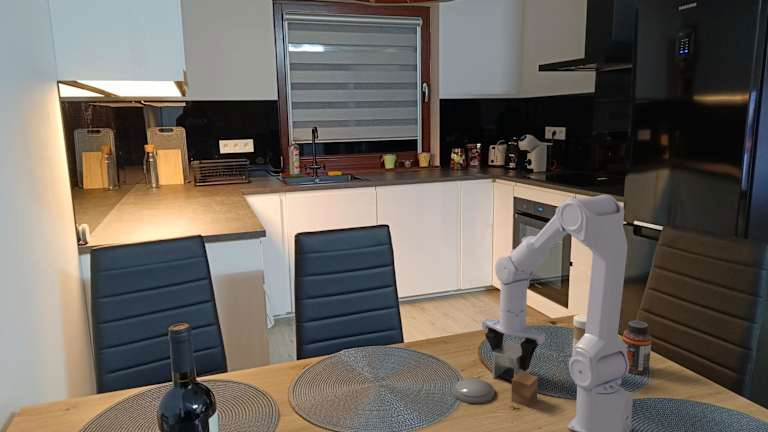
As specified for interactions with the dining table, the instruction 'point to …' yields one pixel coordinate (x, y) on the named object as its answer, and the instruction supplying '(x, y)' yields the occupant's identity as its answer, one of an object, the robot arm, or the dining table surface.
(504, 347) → the cover
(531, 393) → the block
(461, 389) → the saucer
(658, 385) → the dining table surface
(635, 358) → the supplement bottle
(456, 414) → the dining table surface
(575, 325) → the sprinkles bottle
